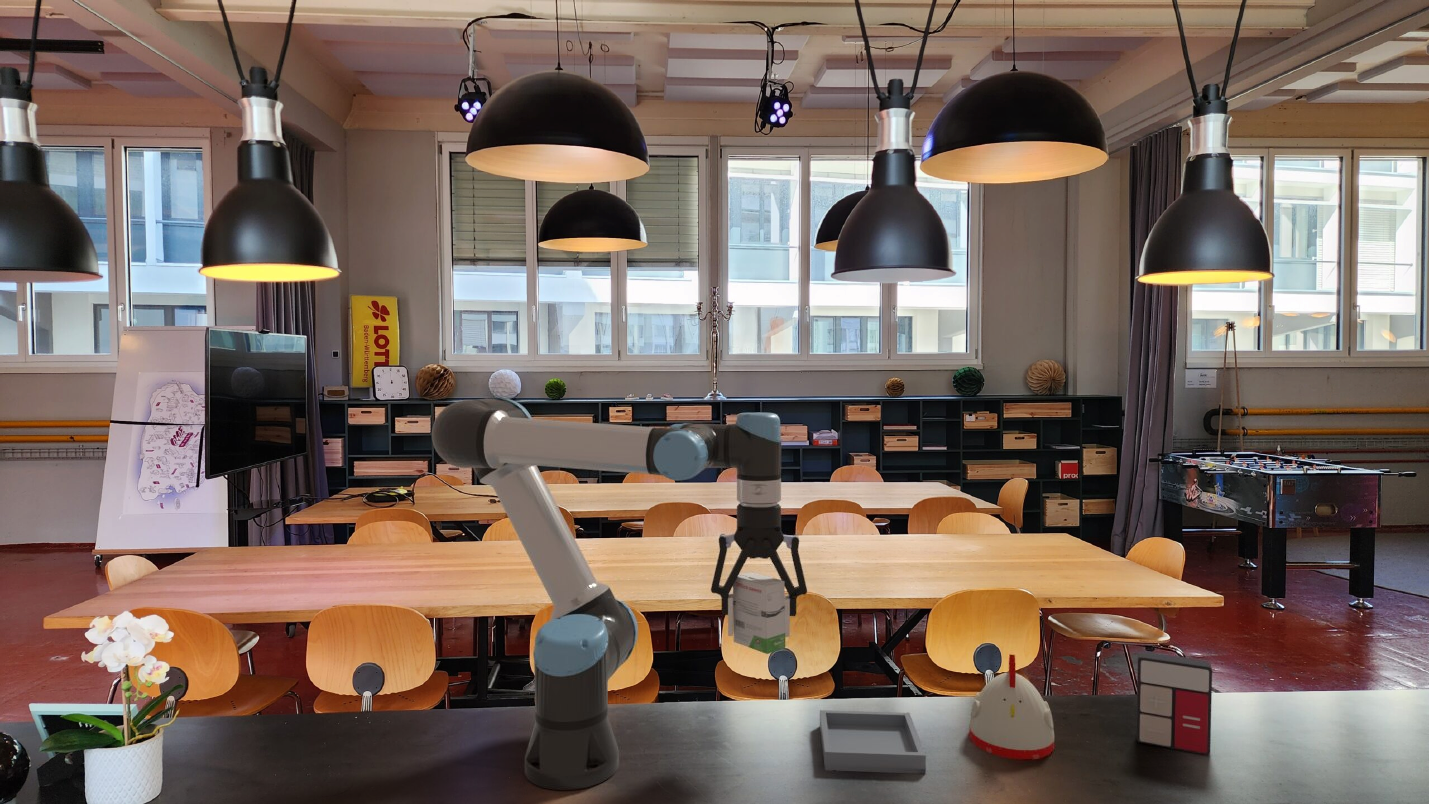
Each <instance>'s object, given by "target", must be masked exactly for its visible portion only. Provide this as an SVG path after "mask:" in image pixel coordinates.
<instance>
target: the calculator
mask: <svg viewBox="0 0 1429 804" xmlns="http://www.w3.org/2000/svg"><path fill="white" fill-rule="evenodd" d="M1136 685H1137V687H1136V689H1137V690H1136V731H1135V733H1136V736H1135V737H1136V741H1137V743H1141V744H1146V745H1151V746H1158V747H1162V748H1167V749H1172V750H1177V751H1183V752H1188V753H1195V754H1200V755H1204V756H1210V754H1211V735H1212V733H1211V732H1212V730H1211V729H1212V697H1213V696H1212V694H1213V693H1212V690H1213V686H1212V685H1213V668H1212V664H1211V662H1210V661H1209V660H1203V659H1197V658H1192V657H1185V656H1176V655H1171V654H1162V653H1155V652H1148V651H1138V653H1137V683H1136Z"/></svg>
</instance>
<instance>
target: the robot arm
mask: <svg viewBox="0 0 1429 804" xmlns="http://www.w3.org/2000/svg"><path fill="white" fill-rule="evenodd" d="M431 429H432V430H431V440H432V444H433V448H434V450H435V452H436V453H437V454H438V456H439V457H440V458H441V459H442V461H444V462H446V463H447V464H449V465H451V466H454V467H457V468H461V469H470V468H471V469H473V471H474V473H475V474H476V476H477V478H478V480H479V483H481V484H484V485H487V486H490V487H492V488H493V490H494V493H495V495H496V496H497V498H498V500H499V502H500V504H501V506H502V507H503V510H504V511H505V512H504V513H506V515H507V517H508V519H509V521H510V523H511V525H512V527H513V529H514V531H515V533H516V535H517V537H518V539H519V541H520V542H521V544H522V546H523V548H524V550H525V552H526V554H527V556H528V558H529V560H530V562H531V564H532V566H533V567H534V570H535V571H536V573H537V575H538V577H539V579H540V581H541V583H542V586H543V588H544V590H545V591H546V593H547V595H548V597H549V599H550V601H551V603H552V606H553V607H552V611H551V614H550V620H549V621H547V622H546V623H544V624H543V625H542V626H541V627H540V628H539V629H538V630H537V632H536V635H535V639H534V647H533V652H532V654H533V657H532V659H533V664H534V665H533V666H534V667H533V668H534V672H533V673H534V704H535V705H534V708H535V709H534V711H535V712H534V713H535V717H534V718H535V722H534V726H533V729H532V733H531V736H530V739H529V742H528V746H527V749H526V752H525V755H524V775H525V777H526V779H527V780H528V781H529V782H531V783H532V784H533V785H535V786H538V787H541V788H544V789H548V790H554V791H555V790H556V791H571V790H572V791H573V790H580V789H584V788H589V787H593V786H595V785H598V784H601V783H603V782H604V781H606V780H609V778H611V777H612V776H613V775H615V773H616V772H617V770H618V768H619V767H620V752H619V747H618V744H617V739H616V737H615V734H614V731H613V728H612V725H611V722H610V720H609V716H608V715H609V714H608V713H609V712H608V711H609V710H608V709H609V708H608V707H609V705H608V703H609V702H608V701H609V700H608V699H609V698H608V696H609V695H608V690H609V689H608V682H609V680H610V678H611V677H612V676H613V675H614V674H615V673H616V671H618V669H619V668H620V667H621V666H622V665H623V664H624V663H625V662H626V661H628V659H629V658H630V656H631V654H632V653H633V651H634V648H635V646H636V644H637V640H638V636H639V635H638V634H639V633H638V632H639V626H638V621H637V618H636V616H635V614H634V612H633V610H632V609H631V608H630V607H629V606H628V605H627V604H626V602H623V601H621V600H619V599H617V598H616V597H615V595H614V594H613V591H612V589H611V588H610V586H609V585H608V584H605V583H601V582H599V581H597V579H596V577H595V575H594V573H593V571H592V570H591V568H590V566H589V563H588V562H587V560H586V557H584V553H583V552H582V550H581V549H580V546H579V545H578V543H577V541H576V539H575V537H574V535H573V533H572V531H571V528H570V527H569V525H568V523H567V520H565V518H564V515H563V514H562V512H561V510H560V508H559V506H558V504H557V502H556V500H555V498H554V497H553V494H552V493H551V491H550V489H549V487H548V485H547V482H546V481H545V479H544V477H543V476H542V474H541V471H540V470H539V468H538V466H540V467H552V468H553V467H554V468H563V469H564V468H565V469H577V470H589V471H590V470H592V471H605V472H619V473H631V474H632V473H633V474H645V475H655V476H663V477H664V478H667V479H669V480H671V481H685V480H690V479H693V478H695V477H696V476H697V475H699V474H700V473H702V471H704V470H706V469H711V468H713V469H715V468H716V469H719V468H720V469H723V468H724V469H726V468H727V469H733V468H734V469H736V500H737V502H739V503H738V504H737V506H736V530H735V532H734V533H733V534H725V533H721V534H720V535H719V538H718V545H719V553H718V557H717V562H716V566H715V570H714V574H713V578H712V583H711V586H710V587H711V588H710V592H711V593H712V594H717V595H719V596H720V597H721V614H722V616H727V635H728V637H730V636H731V637H732V636H733V637H734V626H733V593H731V591H732V590H733V585H734V583H735V581H736V579H737V577H738V575H739V574H741V571H742V569H743V567H744V565H745V564H746V562H747V559H748V558H749V559H750V560H751V559H758V558H760V559H764V560H766V559H767V560H768V559H770V561H771V563H772V564H773V566H774V568H775V570H776V572H777V574H778V576H779V579H780V580H782V581H784V586H785V590H786V591H787V594H785V638H787V637H788V638H790V636H791V635H790V634H791V630H790V629H791V628H790V626H791V625H790V624H791V622H790V621H791V620H790V618H791V617H796V616H797V598H798V597H799V596H802V595H805V596H806V594H807V593H808V588H807V587H808V586H807V584H806V579H805V575H804V571H803V566H802V562H801V558H800V554H799V546H800V545H799V544H800V538H799V535H798V534H793V535H789V534H788V535H787V534H784V533H783V531H782V506H781V505H780V504H779V503H780V502H781V501H782V478H781V476H782V475H781V474H782V434H781V429H782V428H781V419H780V417H779V416H778V414H776V413H773V412H762V411H761V412H758V411H757V412H755V411H754V412H740V413H738V414H737V416H736V421H735V423H731V424H730V423H729V424H719V423H718V424H717V423H716V424H714V423H712V424H711V423H692V422H690V423H689V422H686V423H675V424H672V425H669V427H652V426H638V425H623V424H612V423H611V424H609V423H597V422H596V423H594V422H584V421H583V422H581V421H568V420H567V421H566V420H555V419H554V420H552V419H541V418H539V419H538V418H532V416H531V414H530V413H529V411H528V410H527V409H526V407H524V406H523V405H522V404H520V403H519V402H517V401H515V400H513V399H511V398H510V399H509V398H505V397H500V396H499V397H498V396H495V397H492V396H491V397H486V398H480V399H465V400H464V399H463V400H459V401H456V402H453V403H451V404H449V405H447V406H445V408H443V409H442V410H441V411H440V412H439V413H438V415H437V417H436V418H435V420H434V422H433V425H432V428H431ZM733 542H735V543H736V545H737V546H738V547H739V549H740V550H741V551H740V553H739V555H738V557H737V559H736V561H735V563H734V565H733V567H732V569H731V571H730V573H729V575H728V576H727V579H726V581H725V583H724V584H723V585H720V583H721V580H722V579H721V577H722V574H723V571H724V570H723V569H724V567H725V566H724V565H725V563H726V562H725V561H726V556H727V553H728V549H730V548H731V546H732V544H733ZM783 542H784V543H785V545H786V548H788V549H790V554H791V558H792V562H793V567H794V572H795V576H796V580H797V584H798V585H797V586H795V585H794V583H793V582H792V579H791V577H790V575H789V574H788V572H787V570H786V568H785V566H784V564H783V562H782V559H781V558H780V555H779V553H778V551H777V550H778V549H779V547H780V546H781V544H782V543H783Z"/></svg>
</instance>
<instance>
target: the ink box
mask: <svg viewBox="0 0 1429 804" xmlns="http://www.w3.org/2000/svg"><path fill="white" fill-rule="evenodd" d="M785 590H786V588H785V586H784V581H782V580H781V579H780V578H779V579H778V578H775V577H770V576H766V575H763V574H761V573H756V572H746V573H739V575H738V577H737V579H736V581H735V583H734V585H733V587H732V594H733V642H734V643H736V644H739V645H741V646H744V647H747V648H750V649H752V650H755V651H758V652H760V653H764V654H766V655H769V654H771V653H775V652H778V651H780V650H785V649H786V637H785V595H786V593H785Z"/></svg>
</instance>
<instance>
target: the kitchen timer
mask: <svg viewBox="0 0 1429 804" xmlns="http://www.w3.org/2000/svg"><path fill="white" fill-rule="evenodd" d="M969 719H970V721H969V725H968V726H969V730H968V731H969V732H968V734H969V739H970V741H971V742H972V743H973V744H974V745H975V746H976V747H978V748H980V749H981V750H983V751H984V752H987V753H989V754H992V755H994V756H999V757H1002V758H1005V757H1006V758H1005V759H1012V758H1014V759H1015V760H1022V759H1032V760H1037V759H1043V758H1045V756H1046V757H1048V756H1050V755H1051V754H1052V753H1053V752H1054V751H1055V750H1054V749H1055V731H1054V720H1053V715H1052V711H1051V709H1050V706H1049V703H1048V702H1047V701H1046V700H1045V701H1044V699H1043V697H1042V696H1041V694H1040V692H1039V691H1038V689H1037V688H1036V687H1035V686H1034V684H1033V683H1031V681H1030V680H1028V679H1027V678H1025V677H1024V676H1023V675H1021V674H1019V673H1017V672H1016V654H1010V653H1009V657H1008V672H1003V673H1001V674H998V675H996V676H995V677H994V678H992V679H990V681H988V682H987V683H986V685H985V686H984V687H983V688H982V689H981V691H980V692H976V693H975V696H974V699H973V702H972V707H971V711H970V718H969ZM1053 750H1054V751H1053ZM1052 751H1053V752H1052ZM1051 752H1052V753H1051ZM1049 754H1050V755H1049ZM1047 755H1048V756H1047ZM1042 757H1043V758H1042ZM1014 759H1013V760H1014Z"/></svg>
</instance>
